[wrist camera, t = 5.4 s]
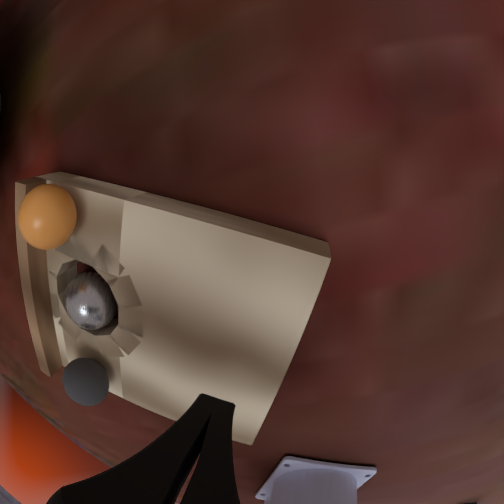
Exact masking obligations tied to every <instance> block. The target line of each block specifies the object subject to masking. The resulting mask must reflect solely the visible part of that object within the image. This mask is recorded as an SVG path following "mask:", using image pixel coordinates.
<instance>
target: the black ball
mask: <svg viewBox="0 0 504 504" xmlns="http://www.w3.org/2000/svg"><path fill="white" fill-rule="evenodd" d="M62 381H63V386H64V389H65V391H66V393H67V394H68V396H69V397H70V398H71V399H72V400H73V401H75V402H76V403H78V404H81V405H84V406H93V405H96V404H98V403H100V402H102V401H103V400H104V399H105V397H106V396H107V393H108V391H109V379H108V375H107V373H106V371H105V370H104V368H103V367H102V366H101V365H100V364H99V363H97V362H96V361H94V360H92V359H89V358H77V359H74V360H72V361H71V362H70V363H68V365H67V366H66V367H65V369H64V372H63V377H62Z"/></svg>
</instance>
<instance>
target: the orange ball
mask: <svg viewBox="0 0 504 504" xmlns="http://www.w3.org/2000/svg"><path fill="white" fill-rule="evenodd" d="M76 220H77V210H76V206H75V203H74V200H73V198H72V197H71V195H70V194H69V193H68V192H67V191H66V190H65V189H64V188H62V187H60V186H58V185H55V184H42V185H39V186H37V187H35V188H33V189H32V190H31V191H29V192H28V193H27V194H26V196H25V197H24V198H23V200H22V202H21V204H20V207H19V211H18V225H19V229H20V232H21V234H22V236H23V238H24V239H25V240H26V241H27V242H28V243H29V244H30V245H31V246H33V247H35V248H37V249H41V250H51V249H55V248H57V247H59V246H61V245H63V244H64V243H65V242H66V241H67V240H68V239H69V238H70V236H71V235H72V233H73V231H74V228H75V225H76Z"/></svg>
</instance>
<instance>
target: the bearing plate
mask: <svg viewBox="0 0 504 504" xmlns="http://www.w3.org/2000/svg"><path fill="white" fill-rule="evenodd" d="M42 184H55V185H58V186H60V187H62V188H64V189H65V190H66V191H67V192H68V193H69V194H70V195H71V197H72V198H73V200H74V203H75V206H76V210H77V220H76V225H75V228H74V231H73V233H72V235H71V236H70V238H69V239H68V240H67V241H66V242H65V243H64V244H63V245H61V246H59V247H57V248H55V249H51V250H41V249H37V248H35V247H33V246H31V245H30V244H29V243H28V242H27V241H26V240H25V239H24V238H23V236H22V234H21V232H20V229H19V225H18V211H19V207H20V204H21V202H22V200H23V198H24V197H25V196H26V194H27V193H28V192H29V191H31V190H32V189H33V188H35V187H37V186H39V185H42ZM15 221H16V239H17V251H18V261H19V270H20V277H21V284H22V291H23V297H24V302H25V308H26V313H27V318H28V323H29V327H30V331H31V336H32V340H33V344H34V347H35V351H36V355H37V358H38V362H39V365H40V369H41V371H42V372H44V373H45V374H47V375H48V376H50V377H52V376H53V375H54V374H55V373H56V372H57V371H58V370H59V369H60V368H61V367H62V366H64V367H66V366H67V365H68V363H70V362H71V361H72V360H74V359H77V358H89V359H92V360H94V361H96V362H97V363H99V364H100V365H101V366H102V367H103V368H104V370H105V371H106V373H107V375H108V379H109V392H111V393H113V394H115V395H117V396H119V397H122V398H124V399H126V400H128V401H130V402H132V403H134V404H136V405H139V406H141V407H143V408H145V409H148V410H150V411H152V412H155V413H157V414H160V415H162V416H164V417H167V418H169V419H172V420H175V421H177V420H178V419H179V418H180V417H181V416H182V415H183V414H184V413H185V412H186V411H187V410H188V409H189V407H190V406H191V405H192V404H193V403H194V401H195V400H196V399H197V397H198V396H199V394H201V393H204V394H207V395H210V396H213V397H216V398H219V399H222V400H225V401H228V402H231V403H234V404H235V406H236V407H235V410H234V416H233V425H232V440H234V441H238V442H241V443H245V444H249V445H252V443H253V441H254V439H255V437H256V435H257V433H258V431H259V429H260V427H261V425H262V423H263V421H264V419H265V417H266V415H267V413H268V411H269V409H270V407H271V404H272V402H273V400H274V398H275V396H276V394H277V392H278V389H279V387H280V385H281V383H282V381H283V378H284V376H285V374H286V372H287V369H288V367H289V365H290V362H291V360H292V358H293V355H294V353H295V351H296V348H297V346H298V344H299V341H300V339H301V336H302V334H303V332H304V329H305V327H306V324H307V322H308V319H309V317H310V314H311V312H312V309H313V307H314V304H315V301H316V299H317V296H318V294H319V291H320V288H321V286H322V283H323V280H324V277H325V275H326V272H327V269H328V266H329V264H330V261H331V254H330V249H329V243H328V242H325V241H322V240H318V239H315V238H312V237H308V236H305V235H301V234H298V233H295V232H291V231H288V230H284V229H281V228H277V227H274V226H270V225H267V224H263V223H260V222H256V221H253V220H249V219H246V218H242V217H239V216H235V215H231V214H228V213H224V212H220V211H217V210H213V209H209V208H206V207H202V206H198V205H194V204H191V203H187V202H183V201H179V200H175V199H171V198H168V197H164V196H160V195H156V194H152V193H148V192H144V191H140V190H136V189H132V188H128V187H124V186H120V185H116V184H111V183H107V182H103V181H99V180H95V179H90V178H86V177H82V176H77V175H73V174H69V173H64V172H55V173H51V174H46V175H42V176H37V177H33V178H29V179H25V180H21V181H17V182H15ZM79 261H80V262H83V263H85V264H88V265H90V266H92V267H93V268H94V269H95V270H96V271H97V272H98V273H99V274H100V275H101V276H102V277H103V278H104V279H105V280H106V282H107V283H108V284H109V286H110V288H111V290H112V293H113V295H114V297H115V299H116V301H117V304H118V318H116V319H112V320H111V322H110V323H109V324H107V325H106V326H104V327H102V328H100V329H95V330H88V329H84V328H81V327H79V326H78V325H76V324H75V323H74V322H73V321H72V320H71V319H70V318H69V316H68V315H67V313H66V310H65V307H64V292H65V289H66V287H67V285H68V283H69V282H70V281H71V280H72V279H73V278H74V277H75V276H77V275H78V272H77V264H78V262H79Z"/></svg>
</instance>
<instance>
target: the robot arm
mask: <svg viewBox="0 0 504 504" xmlns="http://www.w3.org/2000/svg"><path fill="white" fill-rule="evenodd" d="M235 407H236V406H235V404H234V403H231V402H228V401H225V400H222V399H219V398H216V397H213V396H210V395H207V394H204V393H201V394H199V396H198V397H197V399H196V400H195V401H194V403H193V404H192V405H191V406H190V407H189V409H188V410H187V411H186V412H185V413H184V414H183V415H182V416H181V417H180V418H179V419H178V420H177V421H176V422H175V423H174V424H173V425H172V426H171V427H170V428H169V429H168V430H167V431H166V432H164V433H163V434H162V435H161V436H160V437H158V438H157V439H156V440H155V441H153V442H152V443H151V444H150V445H148V446H147V447H145V448H144V449H143V450H141V451H140V452H138V453H137V454H135V455H134V456H132V457H130V458H129V459H127V460H125V461H124V462H122V463H120V464H118V465H116V466H115V467H113V468H111V469H109V470H107V471H104V472H102V473H100V474H97V475H95V476H93V477H90V478H88V479H85V480H82V481H79V482H76V483H73V484H70V485H66V486H63V487H61V488H60V489H59V490H58V491H56V492H55V493H54V494H53V495H52V497H51V498H50V499H49V500H48V502H47V503H46V504H175V502H176V499H177V497H178V495H179V492H180V490H181V488H182V486H183V484H184V483H185V481H186V479H187V477H188V475H189V473H190V471H191V469H192V467H193V466H194V464H195V462H196V460H197V458H198V456H199V454H200V456H199V459H198V462H197V465H196V468H195V470H194V473H193V475H192V477H191V480H190V482H189V484H188V487H187V489H186V491H185V494H184V496H183V498H182V500H181V503H180V504H240V501H239V497H238V492H237V487H236V481H235V475H234V466H233V455H232V425H233V416H234V410H235ZM200 452H201V453H200ZM376 473H377V468H375V467H367V466H355V465H345V464H337V463H329V462H322V461H316V460H310V459H304V458H298V457H293V456H286V457H284V458H283V459H282V461H281V462H280V464H279V465H278V466H277V468H276V469H275V470H274V472H273V473H272V474H271V476H270V477H269V478H268V479H267V481H266V482H265V483H264V485H263V486H262V487H261V488H260V490H259V491H258V492H257V493H256V496H255V497H256V498H257V499H261V500H265V502H264V504H357V489H358V488H359V487H360V486H361V485H363V484H364V483H365V482H366V481H367V480H369V479H370V478H371V477H372V476H373V475H374V474H376ZM0 504H21V503H20V502H19V501H17V500H16V499H15V498H14V497H13V496H12V495H10V494H9V493H8V492H7V491H6V490H5V489H4V488H3V487H1V486H0Z"/></svg>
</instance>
